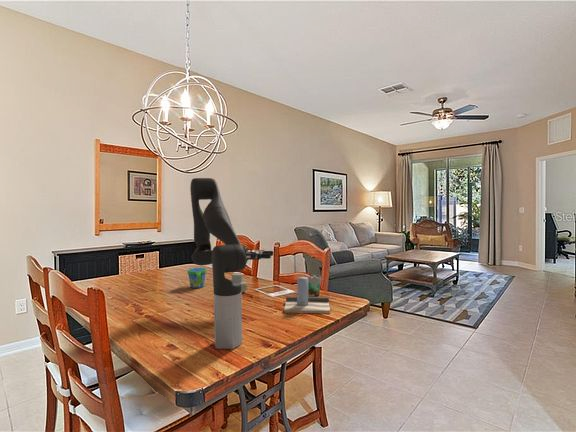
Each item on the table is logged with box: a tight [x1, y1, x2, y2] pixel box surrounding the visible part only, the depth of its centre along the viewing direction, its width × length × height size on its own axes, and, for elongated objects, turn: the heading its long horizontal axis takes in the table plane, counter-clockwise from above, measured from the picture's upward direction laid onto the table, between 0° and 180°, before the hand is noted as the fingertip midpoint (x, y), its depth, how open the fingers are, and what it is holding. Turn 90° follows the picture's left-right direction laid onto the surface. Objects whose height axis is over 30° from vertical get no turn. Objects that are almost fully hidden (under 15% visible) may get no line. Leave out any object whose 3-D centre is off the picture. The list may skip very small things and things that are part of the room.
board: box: [283, 296, 331, 314], centre depth 141 cm, size 14×20×3 cm
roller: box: [296, 276, 309, 306], centre depth 142 cm, size 5×5×12 cm
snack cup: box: [187, 267, 207, 289], centre depth 180 cm, size 16×10×10 cm
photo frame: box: [254, 284, 296, 298], centre depth 169 cm, size 15×1×18 cm
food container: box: [307, 273, 322, 297], centre depth 161 cm, size 12×6×10 cm, turn 168°
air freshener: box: [231, 272, 249, 293], centre depth 168 cm, size 11×8×10 cm
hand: (271, 254), depth 141 cm, fingers open, 8 cm apart
